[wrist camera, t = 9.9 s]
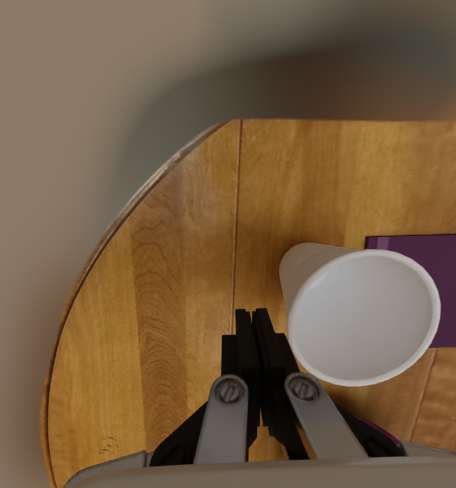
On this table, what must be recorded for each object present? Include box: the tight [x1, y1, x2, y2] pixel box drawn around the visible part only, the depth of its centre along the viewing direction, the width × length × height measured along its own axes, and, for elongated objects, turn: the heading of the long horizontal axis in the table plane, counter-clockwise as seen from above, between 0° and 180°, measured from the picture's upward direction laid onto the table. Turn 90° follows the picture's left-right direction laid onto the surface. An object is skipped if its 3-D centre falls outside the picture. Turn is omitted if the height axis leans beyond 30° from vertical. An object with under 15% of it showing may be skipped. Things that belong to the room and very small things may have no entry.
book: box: [365, 234, 456, 348], centre depth 25 cm, size 14×18×1 cm
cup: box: [279, 242, 441, 386], centre depth 20 cm, size 10×10×11 cm
